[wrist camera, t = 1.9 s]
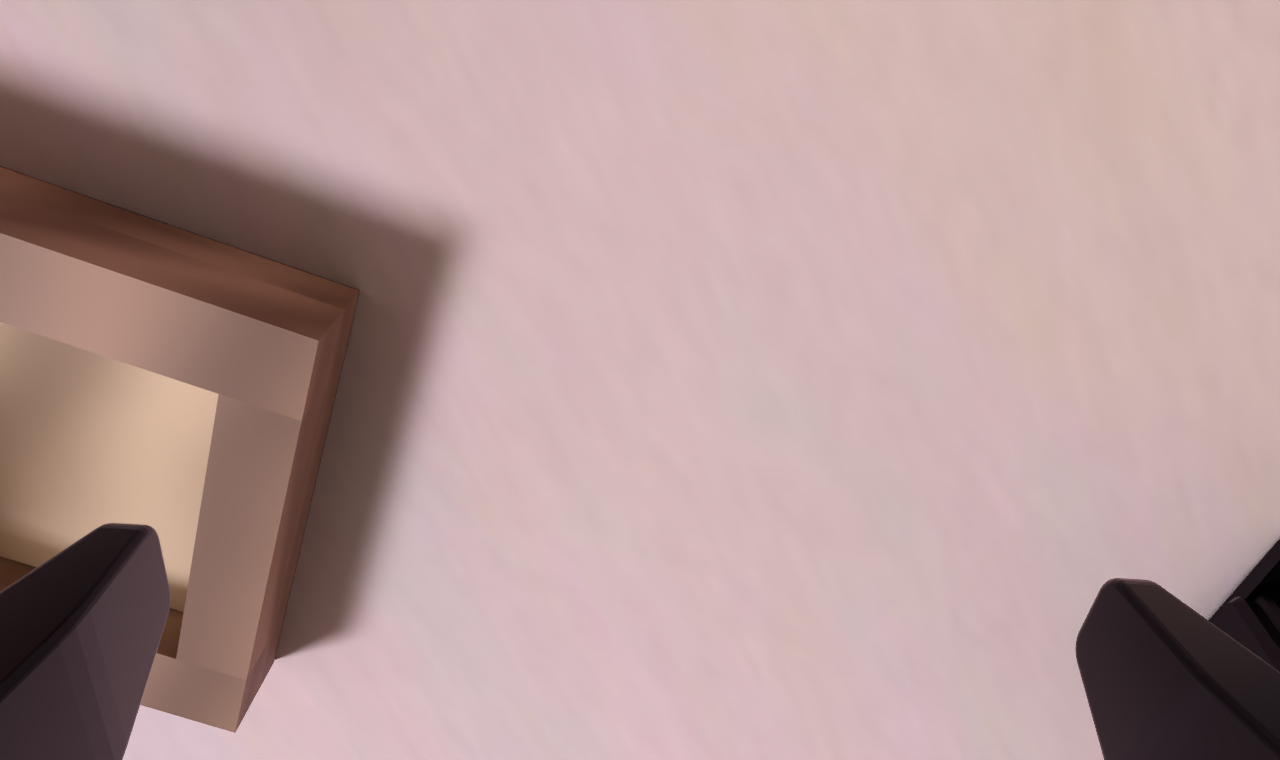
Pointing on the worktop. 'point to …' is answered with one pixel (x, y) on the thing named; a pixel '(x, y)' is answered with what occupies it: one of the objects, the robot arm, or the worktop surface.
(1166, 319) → the worktop surface
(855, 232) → the worktop surface
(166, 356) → the brown wooden flat tray
